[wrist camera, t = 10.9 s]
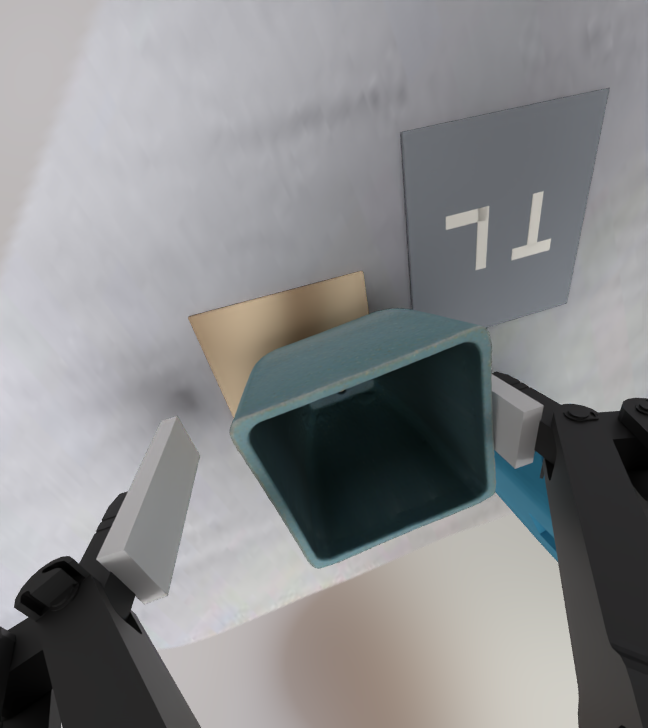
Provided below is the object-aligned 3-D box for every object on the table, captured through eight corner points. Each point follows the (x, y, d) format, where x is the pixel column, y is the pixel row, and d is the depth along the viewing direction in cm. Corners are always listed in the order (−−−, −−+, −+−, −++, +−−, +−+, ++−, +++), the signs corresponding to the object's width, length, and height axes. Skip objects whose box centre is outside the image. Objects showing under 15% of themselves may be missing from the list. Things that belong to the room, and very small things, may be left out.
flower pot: (237, 330, 16) (220, 430, 8) (380, 276, 17) (495, 321, 9) (292, 439, 20) (315, 575, 12) (405, 394, 21) (497, 497, 13)
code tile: (605, 89, 15) (610, 87, 15) (564, 302, 21) (567, 303, 21) (400, 133, 14) (402, 131, 14) (414, 347, 20) (416, 349, 19)
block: (434, 404, 22) (1116, 1059, 5) (488, 366, 22) (1452, 926, 4) (480, 479, 28) (869, 906, 10) (523, 450, 28) (1006, 843, 10)
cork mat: (361, 270, 17) (363, 271, 16) (380, 406, 21) (382, 408, 21) (189, 316, 15) (188, 317, 15) (249, 449, 20) (249, 451, 20)
